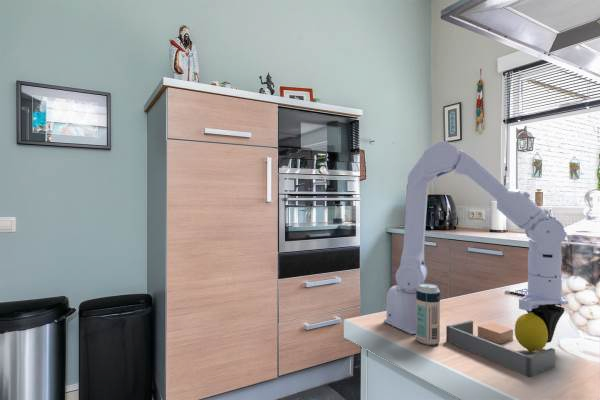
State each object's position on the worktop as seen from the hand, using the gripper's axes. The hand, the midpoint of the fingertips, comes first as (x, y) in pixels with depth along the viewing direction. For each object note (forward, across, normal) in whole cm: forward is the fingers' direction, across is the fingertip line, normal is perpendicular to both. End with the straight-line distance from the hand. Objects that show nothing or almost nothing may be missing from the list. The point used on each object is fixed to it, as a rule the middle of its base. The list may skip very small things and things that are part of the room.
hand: (544, 340), depth 71 cm
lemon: (+2, -5, 0) cm, 5 cm away
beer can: (+2, -19, +13) cm, 23 cm away
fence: (+2, -11, +3) cm, 12 cm away
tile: (+2, -4, +8) cm, 9 cm away
